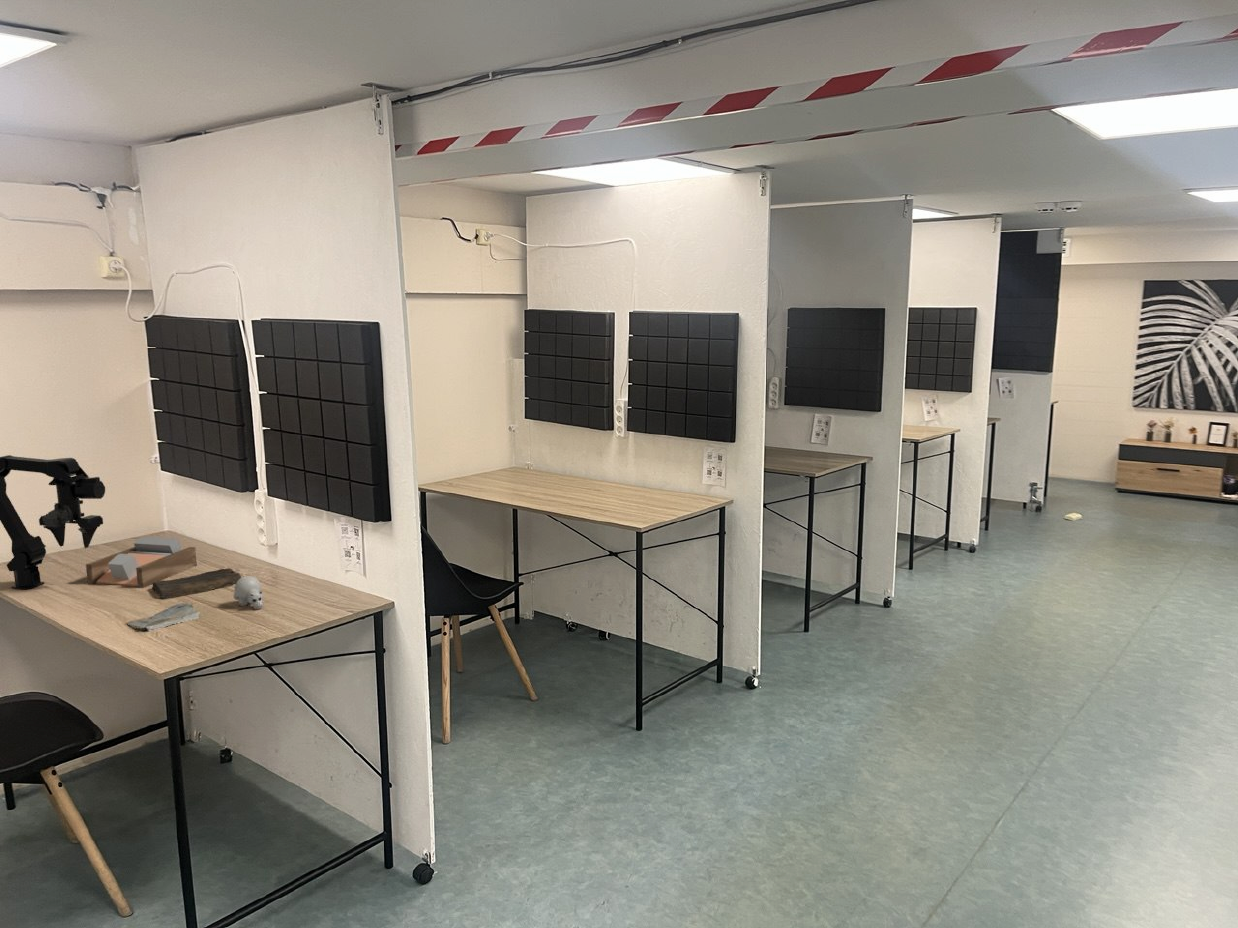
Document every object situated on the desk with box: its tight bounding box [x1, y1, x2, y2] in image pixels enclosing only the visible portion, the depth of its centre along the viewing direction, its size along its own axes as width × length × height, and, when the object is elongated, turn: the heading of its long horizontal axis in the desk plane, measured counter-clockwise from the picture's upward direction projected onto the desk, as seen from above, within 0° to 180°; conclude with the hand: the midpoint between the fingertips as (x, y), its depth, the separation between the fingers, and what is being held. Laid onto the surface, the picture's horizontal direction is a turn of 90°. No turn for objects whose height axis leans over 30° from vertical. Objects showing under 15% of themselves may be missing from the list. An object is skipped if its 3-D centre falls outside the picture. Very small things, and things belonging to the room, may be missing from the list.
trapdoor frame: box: [85, 546, 198, 589], centre depth 285 cm, size 21×25×6 cm
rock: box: [151, 568, 242, 600], centre depth 273 cm, size 25×4×15 cm
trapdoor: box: [96, 536, 183, 587], centre depth 284 cm, size 16×22×5 cm
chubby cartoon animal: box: [233, 575, 264, 610], centre depth 254 cm, size 7×12×8 cm, turn 45°
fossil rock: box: [125, 602, 201, 632], centre depth 244 cm, size 18×15×2 cm
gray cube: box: [108, 554, 139, 580], centre depth 277 cm, size 6×6×6 cm
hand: (74, 546), depth 271 cm, fingers open, 9 cm apart
